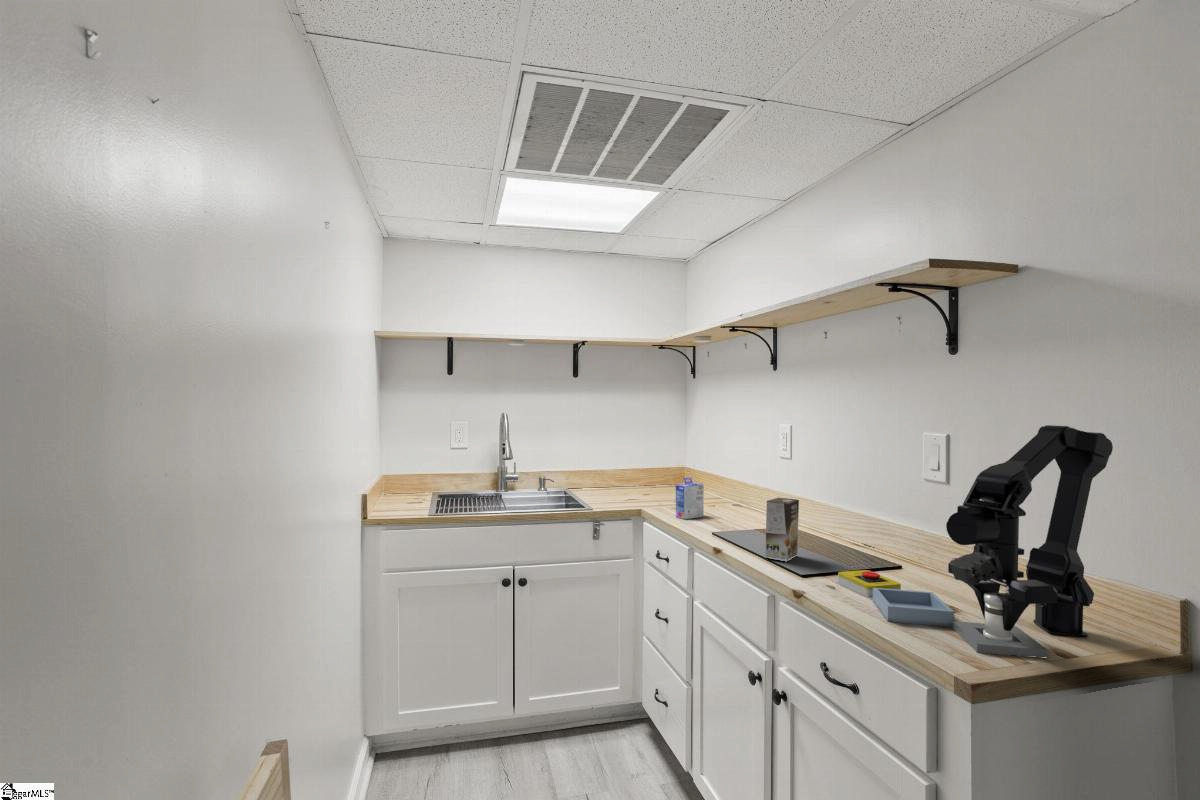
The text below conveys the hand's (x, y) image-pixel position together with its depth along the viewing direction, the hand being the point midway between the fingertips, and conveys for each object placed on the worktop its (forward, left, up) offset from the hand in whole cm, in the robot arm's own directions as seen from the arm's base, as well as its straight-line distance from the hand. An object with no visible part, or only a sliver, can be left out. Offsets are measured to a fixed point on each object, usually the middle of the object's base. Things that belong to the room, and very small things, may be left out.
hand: (997, 625), depth 108 cm
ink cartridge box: (+61, -101, -3) cm, 118 cm away
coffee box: (+33, -51, -3) cm, 61 cm away
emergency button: (+16, -28, -4) cm, 32 cm away
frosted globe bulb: (0, 0, -2) cm, 2 cm away
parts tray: (+11, -12, -3) cm, 17 cm away
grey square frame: (0, 0, -3) cm, 3 cm away
